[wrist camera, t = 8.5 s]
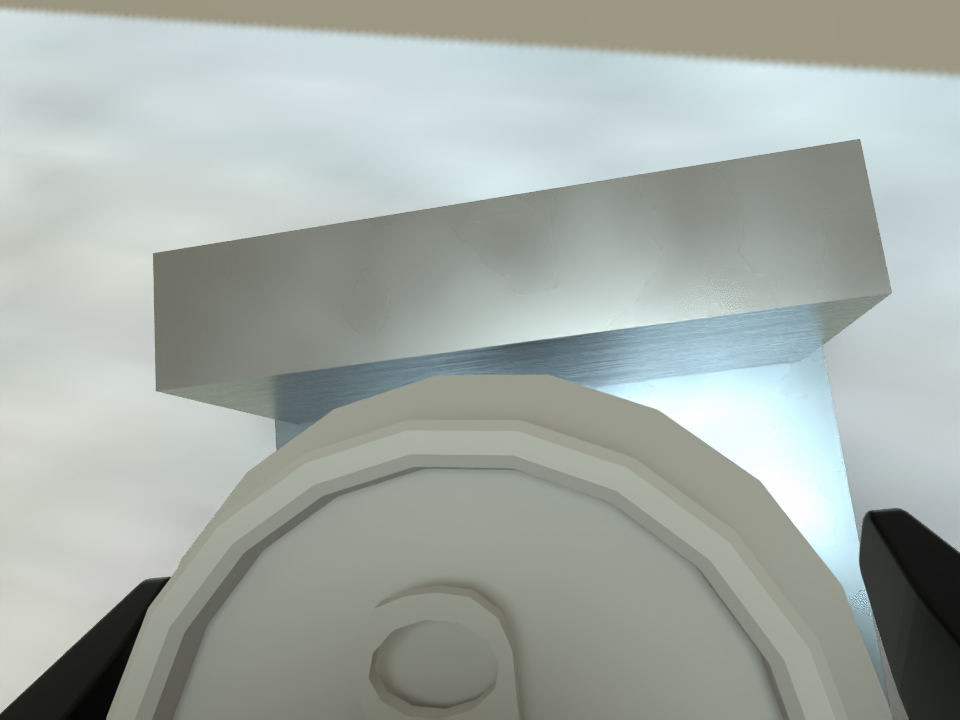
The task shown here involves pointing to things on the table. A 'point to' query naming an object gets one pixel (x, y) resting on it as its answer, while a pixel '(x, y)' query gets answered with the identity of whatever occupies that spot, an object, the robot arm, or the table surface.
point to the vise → (568, 313)
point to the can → (499, 575)
